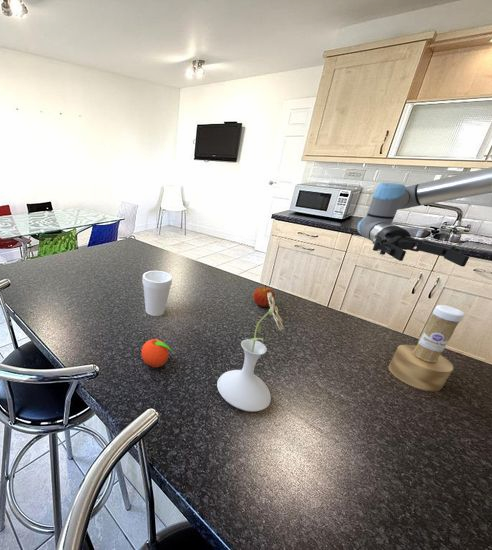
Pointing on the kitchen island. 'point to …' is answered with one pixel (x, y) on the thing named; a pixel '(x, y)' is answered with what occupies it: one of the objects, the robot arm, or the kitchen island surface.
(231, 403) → the flower in vase
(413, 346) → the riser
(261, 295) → the fruit
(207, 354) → the kitchen island surface
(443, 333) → the sprinkles bottle
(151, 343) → the clementine
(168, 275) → the foam cup
